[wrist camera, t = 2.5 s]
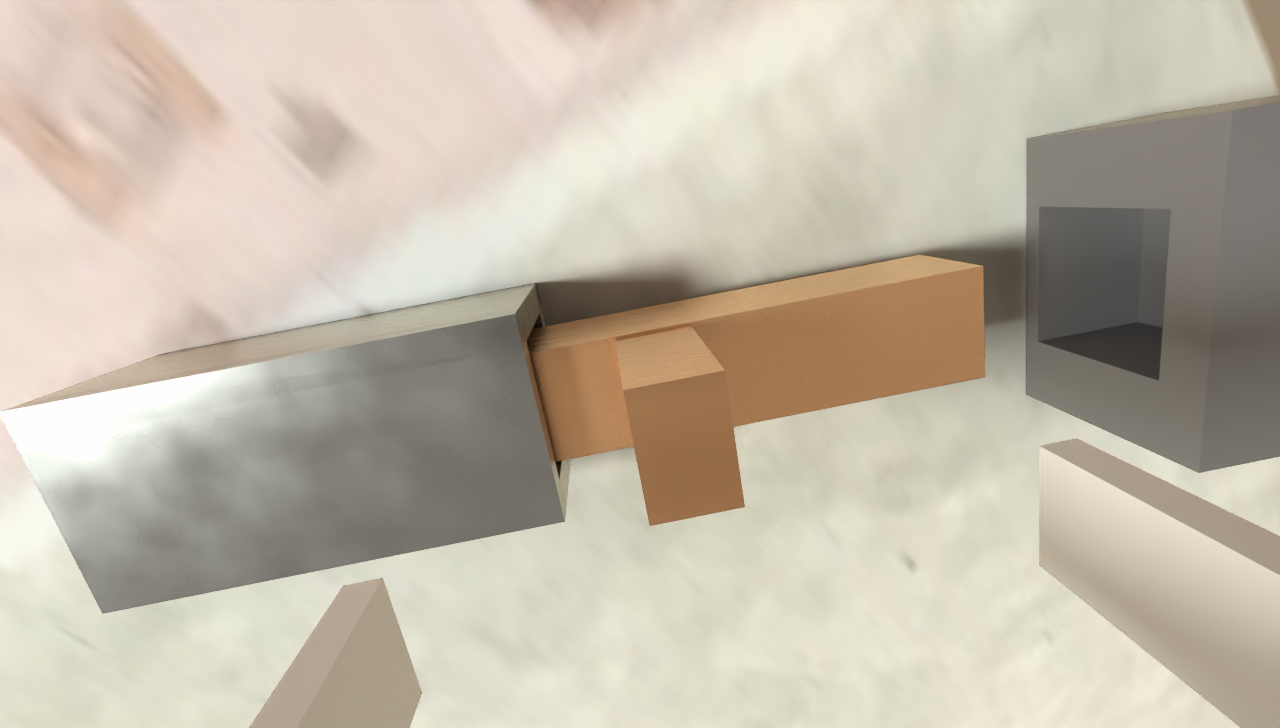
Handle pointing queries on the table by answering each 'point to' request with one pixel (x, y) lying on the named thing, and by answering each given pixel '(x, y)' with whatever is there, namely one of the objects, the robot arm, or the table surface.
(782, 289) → the orange-brown sliding bolt
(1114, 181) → the socket block
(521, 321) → the sleeve
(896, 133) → the table surface
